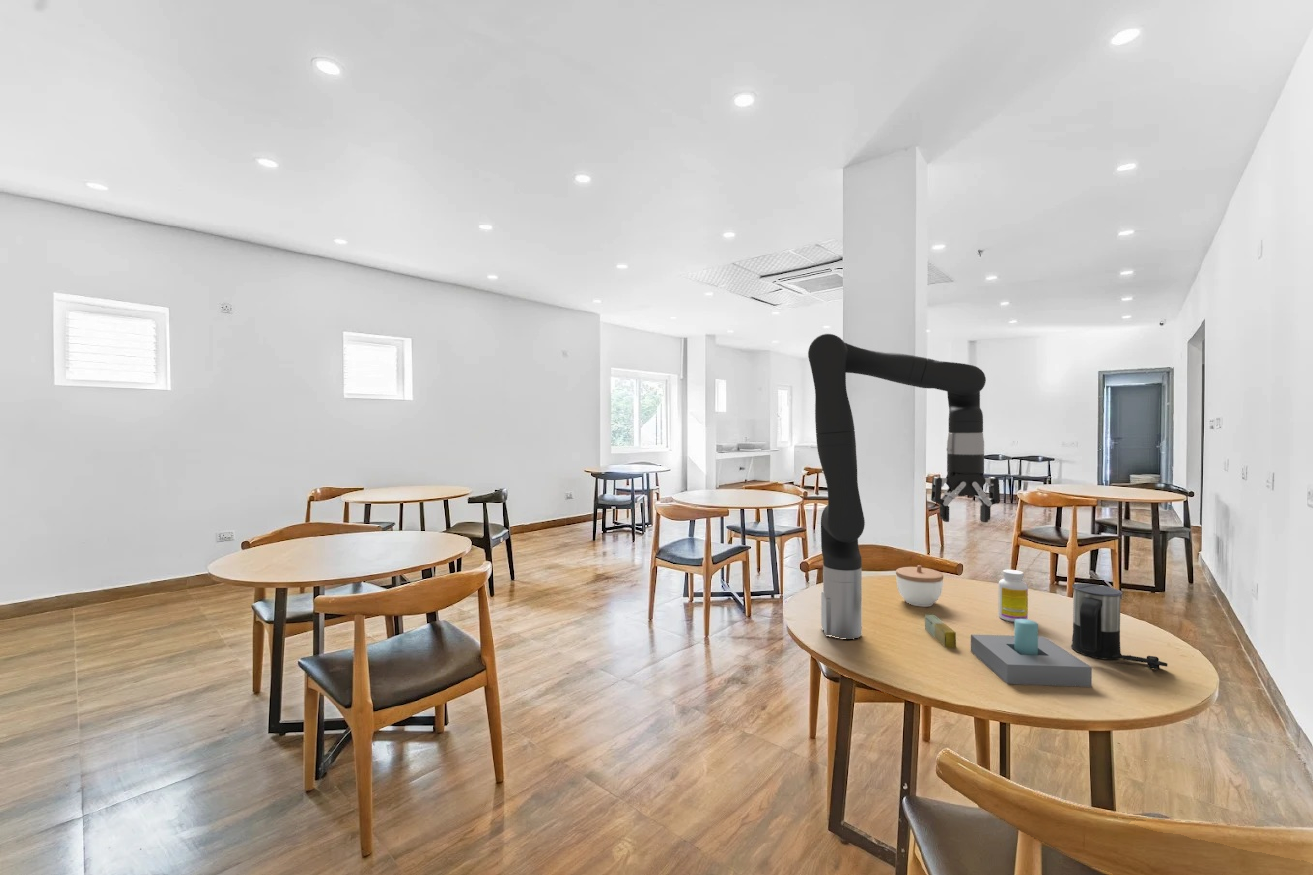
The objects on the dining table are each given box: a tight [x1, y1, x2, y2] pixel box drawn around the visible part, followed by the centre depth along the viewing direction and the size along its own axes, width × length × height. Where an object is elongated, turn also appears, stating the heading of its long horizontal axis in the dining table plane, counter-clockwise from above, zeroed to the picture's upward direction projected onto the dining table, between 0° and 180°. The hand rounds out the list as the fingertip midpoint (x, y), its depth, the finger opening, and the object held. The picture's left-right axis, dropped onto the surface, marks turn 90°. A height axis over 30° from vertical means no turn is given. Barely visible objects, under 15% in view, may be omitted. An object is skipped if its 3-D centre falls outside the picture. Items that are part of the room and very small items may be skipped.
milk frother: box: [1070, 583, 1168, 670], centre depth 124 cm, size 14×16×15 cm
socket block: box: [970, 634, 1093, 688], centre depth 120 cm, size 16×16×4 cm
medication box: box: [924, 614, 957, 649], centre depth 137 cm, size 12×3×4 cm, turn 176°
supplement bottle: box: [997, 569, 1029, 623], centre depth 149 cm, size 7×7×13 cm
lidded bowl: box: [895, 564, 944, 608], centre depth 163 cm, size 13×13×11 cm
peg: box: [1014, 619, 1039, 655], centre depth 120 cm, size 4×4×10 cm
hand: (964, 521), depth 129 cm, fingers open, 8 cm apart
